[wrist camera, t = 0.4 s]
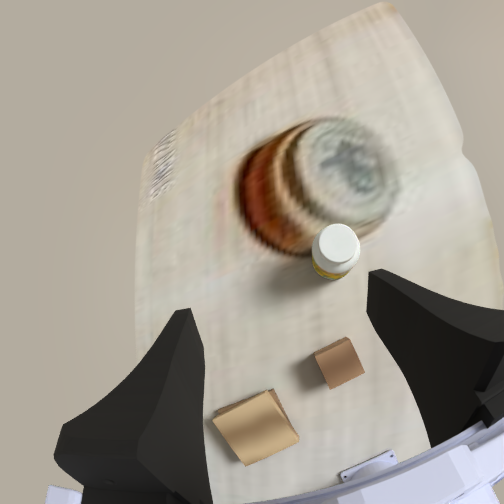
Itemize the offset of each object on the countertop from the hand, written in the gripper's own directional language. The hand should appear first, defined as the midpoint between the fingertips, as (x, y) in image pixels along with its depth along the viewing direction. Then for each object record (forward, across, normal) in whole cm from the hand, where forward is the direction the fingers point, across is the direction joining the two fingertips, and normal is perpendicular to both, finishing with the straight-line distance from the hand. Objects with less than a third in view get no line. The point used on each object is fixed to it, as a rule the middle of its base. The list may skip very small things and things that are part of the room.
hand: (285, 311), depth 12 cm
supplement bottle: (+24, -10, +12) cm, 29 cm away
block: (+16, -8, +22) cm, 29 cm away
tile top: (+12, +4, +28) cm, 31 cm away
